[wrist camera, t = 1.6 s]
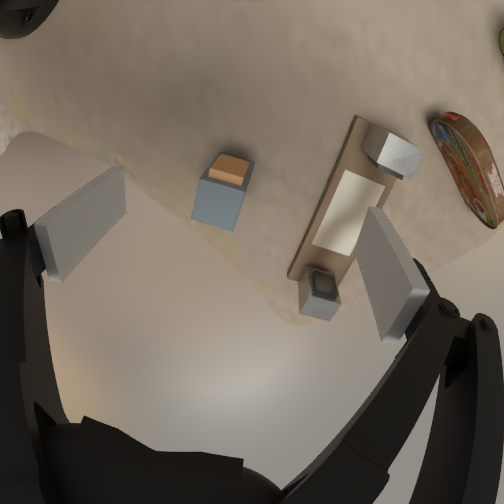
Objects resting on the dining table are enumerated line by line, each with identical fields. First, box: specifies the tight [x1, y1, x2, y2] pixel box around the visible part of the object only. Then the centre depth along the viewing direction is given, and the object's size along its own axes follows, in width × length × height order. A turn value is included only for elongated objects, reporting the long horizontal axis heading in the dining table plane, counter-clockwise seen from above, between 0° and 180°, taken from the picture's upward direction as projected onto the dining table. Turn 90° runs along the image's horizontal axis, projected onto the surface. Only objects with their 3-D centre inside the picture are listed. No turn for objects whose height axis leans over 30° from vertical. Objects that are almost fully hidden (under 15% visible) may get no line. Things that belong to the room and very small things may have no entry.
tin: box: [431, 112, 504, 229], centre depth 24 cm, size 15×3×8 cm, turn 43°
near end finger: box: [361, 122, 425, 180], centre depth 25 cm, size 4×4×6 cm
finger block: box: [191, 153, 255, 231], centre depth 29 cm, size 4×5×9 cm
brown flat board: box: [287, 115, 411, 286], centre depth 33 cm, size 7×22×1 cm, turn 163°
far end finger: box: [298, 264, 341, 321], centre depth 35 cm, size 4×4×6 cm
